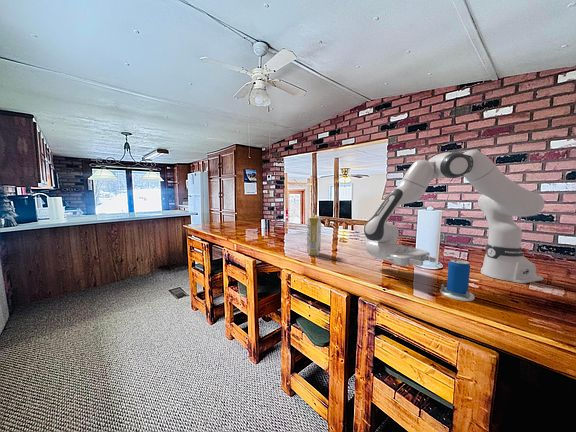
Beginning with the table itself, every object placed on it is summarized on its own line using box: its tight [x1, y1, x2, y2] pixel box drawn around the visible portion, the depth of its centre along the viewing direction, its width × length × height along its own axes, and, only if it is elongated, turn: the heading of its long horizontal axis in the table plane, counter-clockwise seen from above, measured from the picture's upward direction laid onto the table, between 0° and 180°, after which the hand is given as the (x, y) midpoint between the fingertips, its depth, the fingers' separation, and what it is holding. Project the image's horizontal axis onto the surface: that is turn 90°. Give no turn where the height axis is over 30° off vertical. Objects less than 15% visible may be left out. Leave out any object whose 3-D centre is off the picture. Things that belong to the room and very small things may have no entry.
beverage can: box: [446, 258, 471, 295], centre depth 87 cm, size 6×6×12 cm
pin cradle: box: [439, 283, 476, 302], centre depth 88 cm, size 10×10×3 cm
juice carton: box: [306, 214, 322, 257], centre depth 144 cm, size 9×8×24 cm
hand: (428, 261), depth 96 cm, fingers open, 8 cm apart
